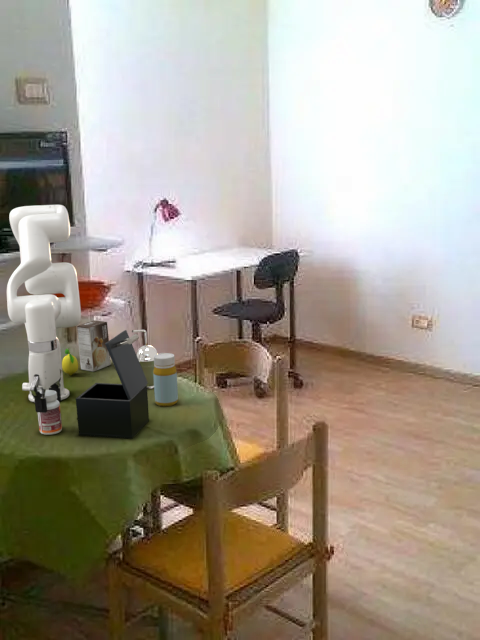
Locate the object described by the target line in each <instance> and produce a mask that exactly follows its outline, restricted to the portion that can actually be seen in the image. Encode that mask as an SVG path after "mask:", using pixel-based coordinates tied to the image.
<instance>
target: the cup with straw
mask: <svg viewBox="0 0 480 640" xmlns="http://www.w3.org/2000/svg"><path fill="white" fill-rule="evenodd" d="M131 333H144V345H142V346H140V347H139V348H138V349H137V350H136V352H135V353H136V355H137V357H138V360H139V362H140V365H141V367H142V370H143V372H144V375H145V377H146V379H147V382H148V384H147V390H151V389H154V376H153V370H154V367H155V366H154V356H155V355H156V354H159V353H158V351H157V349H156V348H155V347H154V346H152V345H149V344H148V334H147V330H145V329H132V330H131Z"/></svg>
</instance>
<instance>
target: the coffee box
mask: <svg viewBox="0 0 480 640" xmlns="http://www.w3.org/2000/svg"><path fill="white" fill-rule="evenodd" d="M76 330H77V340H78V343H77V344H78V352H79V353H78V354H79V362H80V363H79V365H80V370H82V371H86V372H93V373H94V372H96V371H99V370H101V369H104V368H106V367H108V366H111V365H112V364H111V361H112V360H111V357H110V354H109V352H108V350H107V347H106V345H105V343H107V342H108V341H110V339H109V327H108V321H104V320H103V321H102V320H96V319H95V320H91V321H88V322H85V323H82V324H81V323H80V324H78V325H77V326H76Z"/></svg>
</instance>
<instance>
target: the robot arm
mask: <svg viewBox="0 0 480 640" xmlns="http://www.w3.org/2000/svg"><path fill="white" fill-rule="evenodd" d="M69 216H70V215H69V212H68V209H67V208H66V206H64V205H63V204H41V205H24V206H18V207H15V208H13V209H11V210H10V212H9V217H8V218H9V219H8V220H9V224H10V225H9V226H10V229H11V231H12V233H13V236H14V237H15V240H16V242H17V244H18V246H19V256H20V264H19V265H18V266H17V268H16V269H15V270H14V271H13V272H12V274H11V275H10V277H9V279H8V282H7V285H6V301H7V302H6V305H7V308H6V309H7V315H8V318H9V320H10V321H11V322H12V323H14V324H24V326H25V332H26V336H27V344H28V345H27V346H28V352H29V354H28V367H27V368H28V382H23V383H22V385H21V390H22V391H24V392H29V393H28V400H29V401H30V402H31V403H34V409H35V410H34V411H35V412H36V413H38V412H41V413H46V412H47V404H46V398H44V397H45V391H46V390H54V391H56V392H57V400H58V401H59V403H61V402H62V401H64V400H65V399H67V398H69V396H70V390H69V389H68V388H65V383H64V373H63V372H64V371H63V369H62V360H63V359H62V351H61V342H60V340H59V338H58V337H57V329H66V328H67V329H68V328H74V327H77V326H78V325H80V324H81V321H82V309H81V299H80V290H79V280H78V275H77V269H76V267H75V266H74V265H73V263H70V262H65V261H64V262H52V255H51V254H52V253H51V244H50V243H64V242H67V241H69V239H70V236H71V223H70V217H69ZM23 284H24V286H25V289H26V292H27V293H29V294H30V295H18V290H19V288H20V287H21V286H22V285H23ZM56 294H62V295H63V296H61V297H57V295H56ZM41 391H42V392H41ZM40 392H41V393H40Z"/></svg>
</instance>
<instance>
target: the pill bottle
mask: <svg viewBox="0 0 480 640" xmlns="http://www.w3.org/2000/svg"><path fill="white" fill-rule="evenodd" d="M41 392H42V391H41ZM41 392H40V393H41ZM44 398H46V404H47V412H46V413H41V412H37V420H38V428H39V433H40V434H41V435H44V436H50V435H56V434H59V433H60V432H62V430H63V423H62V412H61V402H59V401H58V400H57V392H56V391H54V390H46V391H45V397H44Z"/></svg>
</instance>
